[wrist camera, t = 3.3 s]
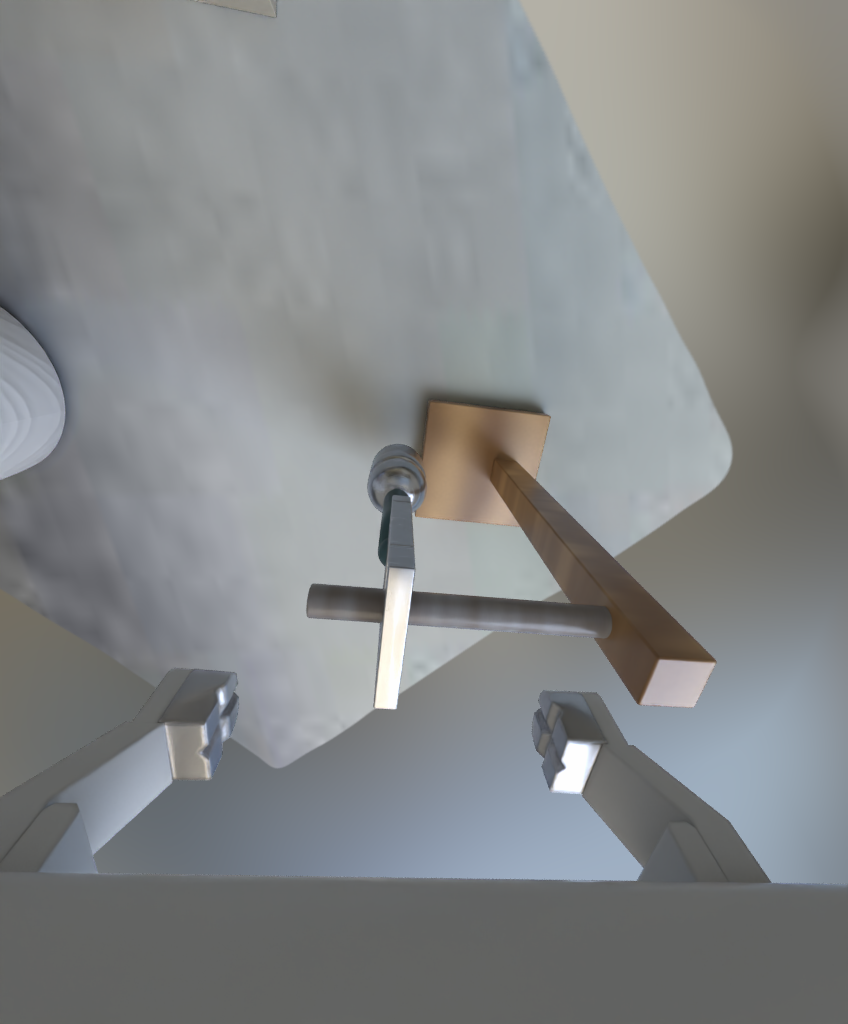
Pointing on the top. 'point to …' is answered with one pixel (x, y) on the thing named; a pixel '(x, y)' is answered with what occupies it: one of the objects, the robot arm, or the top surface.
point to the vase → (26, 399)
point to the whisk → (395, 557)
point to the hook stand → (559, 542)
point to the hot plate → (247, 5)
